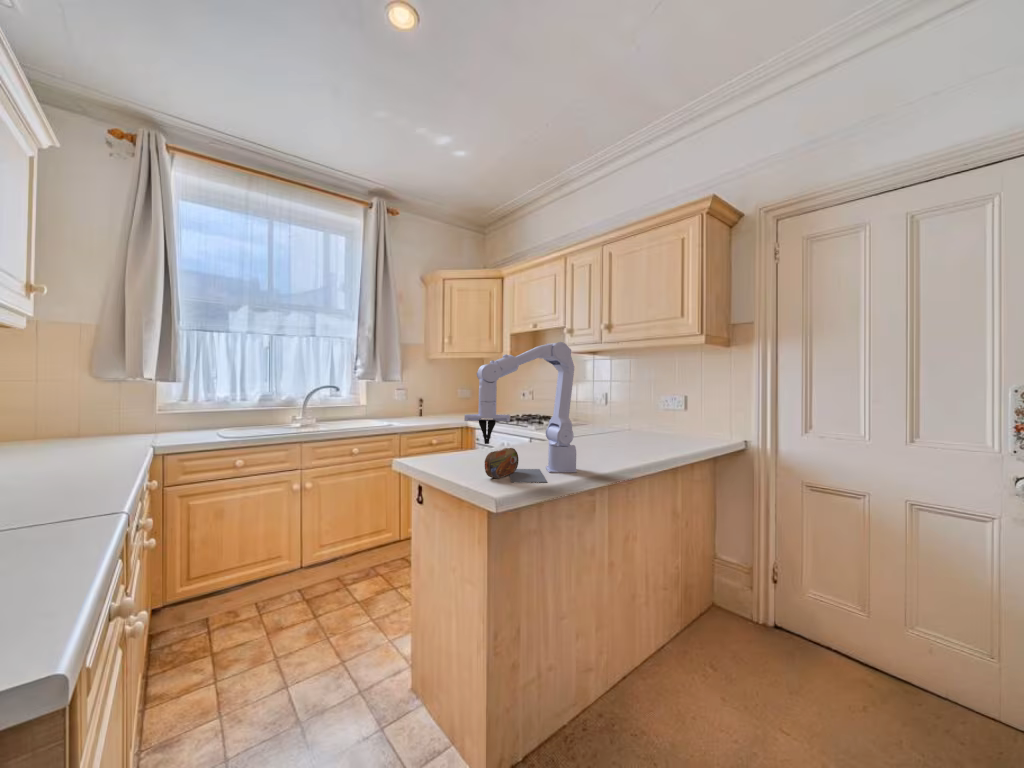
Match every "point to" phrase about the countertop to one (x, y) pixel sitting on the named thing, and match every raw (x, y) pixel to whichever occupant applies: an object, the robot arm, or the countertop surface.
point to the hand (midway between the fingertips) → (486, 443)
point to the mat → (528, 476)
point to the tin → (501, 462)
